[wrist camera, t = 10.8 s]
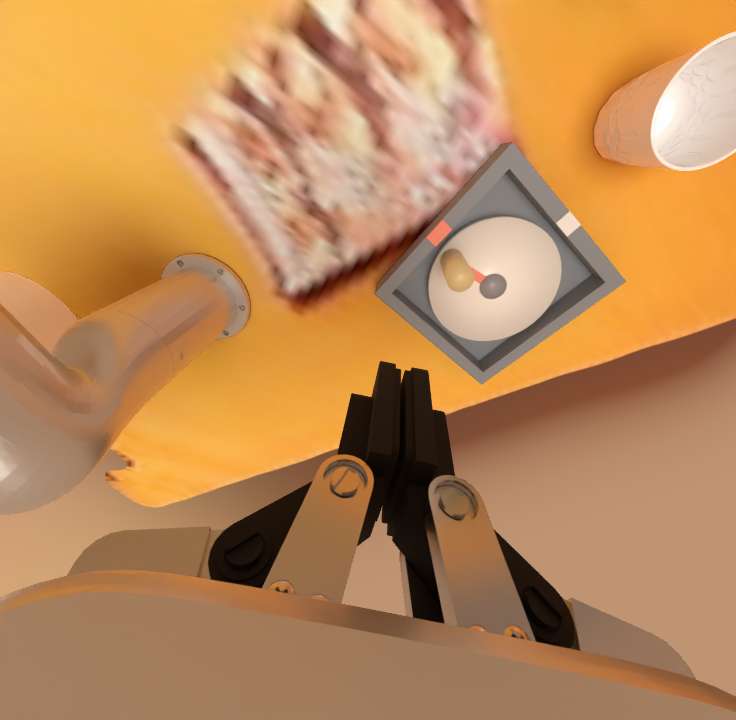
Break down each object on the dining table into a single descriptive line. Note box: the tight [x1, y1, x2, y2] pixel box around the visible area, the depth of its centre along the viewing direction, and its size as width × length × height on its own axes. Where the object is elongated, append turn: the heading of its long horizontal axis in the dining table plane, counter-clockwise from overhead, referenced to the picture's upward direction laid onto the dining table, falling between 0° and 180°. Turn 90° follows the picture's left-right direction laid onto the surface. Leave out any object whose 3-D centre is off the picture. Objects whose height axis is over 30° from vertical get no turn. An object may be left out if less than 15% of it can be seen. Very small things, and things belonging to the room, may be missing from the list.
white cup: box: [594, 31, 736, 171], centre depth 26 cm, size 8×8×10 cm
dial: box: [428, 215, 562, 341], centre depth 35 cm, size 15×15×9 cm
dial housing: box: [375, 142, 626, 385], centre depth 38 cm, size 20×20×4 cm
